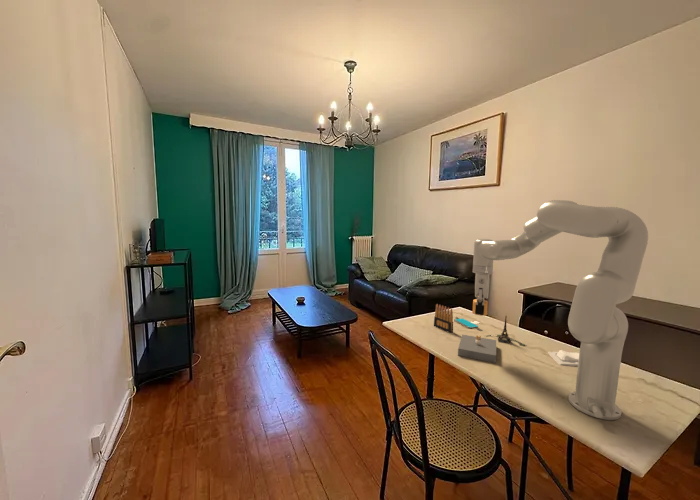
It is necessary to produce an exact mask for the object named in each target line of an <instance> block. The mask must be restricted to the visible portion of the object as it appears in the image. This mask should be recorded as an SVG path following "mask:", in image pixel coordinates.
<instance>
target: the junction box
mask: <svg viewBox="0 0 700 500" xmlns="http://www.w3.org/2000/svg"><path fill="white" fill-rule="evenodd" d="M457 356H458V357H463V358H469V359H473V360H480V361H485V362H489V363H494V364H495V363H496V362H497V339H492V338H486V337H481V335H468V334H462V335H461V337H460V341H459V344H458V349H457Z"/></svg>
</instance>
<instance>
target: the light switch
mask: <svg viewBox="0 0 700 500" xmlns="http://www.w3.org/2000/svg"><path fill="white" fill-rule="evenodd" d="M579 353H580V352H576V351H575V352H574V351H569V352H568V351H565V350H563V349H560V350H558V351H548V352H547V354H548V355H549V356H550V357H551V358H552V359H553V360H554V361H555V362H556V363H557V364H558V365H560V366H568V367H569V366H570V367H577V368H578V361H579Z"/></svg>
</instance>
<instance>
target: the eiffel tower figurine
mask: <svg viewBox="0 0 700 500" xmlns="http://www.w3.org/2000/svg"><path fill="white" fill-rule="evenodd" d="M504 317H505V319H504V327H503V329H502V333H501V334H496V335H497V336H495V337H496V338H497V342H498V343H501V344H506V345H512V342H515V343H518V344H519V346H521V347H527V346H528V345H527V344H524V343H522V342H521V341H518V340H516V339H515V338H512V337H509V334H508V329H507V318H508V317H507V315H505V316H504ZM491 335H492V334H488V335H485V338H486V337H487V338H488V337H492V338H493V337H494V335H493V336H491Z"/></svg>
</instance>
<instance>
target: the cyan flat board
mask: <svg viewBox="0 0 700 500" xmlns="http://www.w3.org/2000/svg"><path fill="white" fill-rule="evenodd" d="M454 318H455V319H453V320H454V321H453V322H455V323H457V324H458V325H460V324H461V325H460V326H462V325H463V327H464V326H465V327H464V328H467V329H468V328H469V329H476V330H477V331H482V329H481V328H479V326H478V325H480V324H479V323H480V322H479V321H477V320H474V322H472V321H469V320H467V319H465V318H460V317H457V316H456V317H454Z"/></svg>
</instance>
